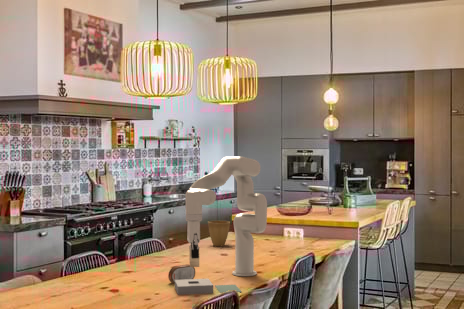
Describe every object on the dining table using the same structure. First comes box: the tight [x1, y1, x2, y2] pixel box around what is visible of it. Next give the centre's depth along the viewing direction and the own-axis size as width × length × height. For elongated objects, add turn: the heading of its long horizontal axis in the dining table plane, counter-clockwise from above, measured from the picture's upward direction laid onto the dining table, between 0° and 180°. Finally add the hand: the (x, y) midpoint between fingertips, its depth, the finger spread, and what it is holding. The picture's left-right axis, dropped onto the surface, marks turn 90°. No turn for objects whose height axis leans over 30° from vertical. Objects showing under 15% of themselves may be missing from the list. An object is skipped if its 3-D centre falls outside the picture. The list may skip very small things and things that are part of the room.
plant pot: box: [207, 220, 231, 247], centre depth 410 cm, size 15×15×16 cm
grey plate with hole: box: [174, 278, 214, 295], centre depth 280 cm, size 14×16×4 cm
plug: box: [188, 245, 200, 268], centre depth 281 cm, size 4×4×9 cm
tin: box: [167, 263, 196, 284], centre depth 299 cm, size 15×3×8 cm, turn 131°
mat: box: [214, 284, 242, 294], centre depth 284 cm, size 14×10×1 cm
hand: (194, 256), depth 281 cm, fingers closed on plug, 4 cm apart
